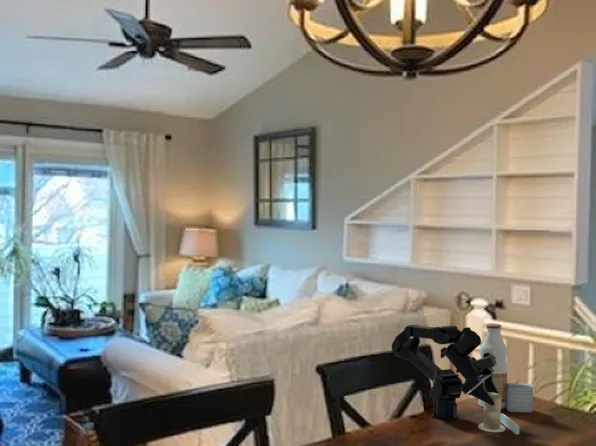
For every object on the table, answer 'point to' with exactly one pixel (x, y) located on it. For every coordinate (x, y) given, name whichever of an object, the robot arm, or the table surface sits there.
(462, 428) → the table surface
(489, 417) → the birch cylinder
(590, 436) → the table surface
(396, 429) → the table surface
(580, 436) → the table surface
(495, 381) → the fruit juice
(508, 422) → the acrylic wall
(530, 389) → the medicine box
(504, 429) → the pad
